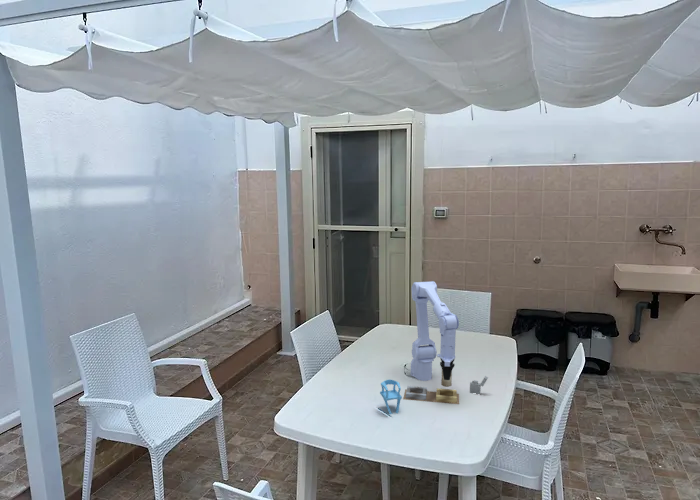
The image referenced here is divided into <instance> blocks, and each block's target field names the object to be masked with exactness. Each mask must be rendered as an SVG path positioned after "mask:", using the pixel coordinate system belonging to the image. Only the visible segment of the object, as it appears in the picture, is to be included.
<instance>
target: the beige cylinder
mask: <svg viewBox="0 0 700 500" xmlns="http://www.w3.org/2000/svg"><path fill="white" fill-rule="evenodd" d="M452 376H453V371H452V372H451V376H450V380H444V377H443V371H442V370H441V382H440V384H441V386H442V387H445V388H448V387H452V384H453V383H452V380H453V379H452Z"/></svg>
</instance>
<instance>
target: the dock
mask: <svg viewBox="0 0 700 500" xmlns="http://www.w3.org/2000/svg"><path fill="white" fill-rule="evenodd" d="M402 400H406V401H407V400H408V401H417V402H429V403H441V404H451V405H452V404H453V405H460V394H459V393H458V392H457V389H448V388H436V391H432V390H431V391H430V390H428V387H425V386H415V385H412V386H411V385H407V388H406V389H404V394H403V397H402Z"/></svg>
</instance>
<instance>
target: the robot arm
mask: <svg viewBox="0 0 700 500" xmlns="http://www.w3.org/2000/svg"><path fill="white" fill-rule="evenodd" d="M410 288H411V298H412V301H414V303H415V311H416V327H417V328H416V329H417V338H416V339H415V341H413V342H412V346H411V347H412V348H411V357H412V360H411V362H410V376H412V377H414V378H415V379H416V380H418V381H423V382H424V381H426V382H427V381H430V380H432V378H433V362H434V360H435V359H436V357H437V358H440V361H439V366H440V368H441V372H442V371H443V377H444V380H450V376H451V372H452V373H453V369H454V368H455V365H456V364H455V363H454V362H455V360H456V331H457V329H458V328H459V325H460V323H459V322H460V321H459V318H458V315H457V314H454V313H452V312H451V311H450V309H449V307H448V306H447V304H446V303H445V302H443V301H441V299H440V297H439V294H438V285H437V283H436V282H435V281H434V280H431V281H418V282H417V281H414V282H413V283H412V285H411V287H410ZM428 302H430V303H431V305H432V306H433V307H432V311H433V313H434V314H435V316H436V318H437V320H438V321H437V323H438V327H439V334H440V348H439V349H440V353H437V347H436V344H435V343H436V342H435V341H434V340H433V339H431V338H430V328H429V316H428Z"/></svg>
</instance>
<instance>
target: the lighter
mask: <svg viewBox="0 0 700 500" xmlns="http://www.w3.org/2000/svg"><path fill="white" fill-rule="evenodd" d="M488 379H489V377H488V376H486V375H485V376H484V377H483V379H482V381H481V382H480V383H479V381H478V380H472V381H470V382H469V394H473V393H476V394H475V395H478V394H480V395H481V390H482V389H481V387H484V385H485V384H486V383H487V381H488Z"/></svg>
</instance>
